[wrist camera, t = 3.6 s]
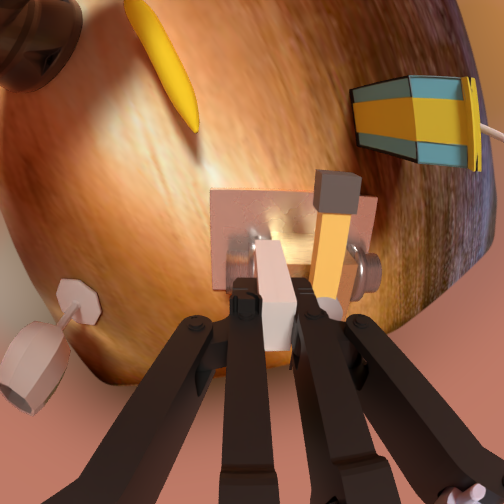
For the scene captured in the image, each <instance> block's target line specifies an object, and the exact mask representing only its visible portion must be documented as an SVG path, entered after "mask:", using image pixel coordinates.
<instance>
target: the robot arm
mask: <svg viewBox="0 0 504 504" xmlns="http://www.w3.org/2000/svg"><path fill="white" fill-rule="evenodd" d="M81 28H82V11H81V8H80V6H79V4H78V3H77V2H76V1H75V0H0V86H1V87H3V88H5V89H7V90H8V91H11V92H32V91H35V90H37V89H39V88H41V87H43V86H44V85H46V84H47V83H48V82H50V81H51V80H52V79H53V78H54V77H55V76H56V75H57V74H58V73H59V72H60V70H61V69H62V68H63V67H64V65H65V64H66V62H67V61H68V59H69V58H70V56H71V54H72V52H73V50H74V48H75V46H76V44H77V42H78V39H79V36H80V32H81ZM291 344H292V355H291V361H290V367H289V370H292V366H293V372H294V378H295V384H296V390H297V397H298V402H299V409H300V414H301V421H302V428H303V434H304V441H305V447H306V453H307V461H308V468H309V474H310V481H311V498H310V504H401V501H400V498H399V494H398V491H397V487H396V484H395V480H394V477H393V473H392V471H391V467H390V465H389V463H388V460H387V459H386V458H385V457H383V456H379V455H378V454H377V453H376V451H375V448H374V445H373V441H372V438H371V436H370V432H369V429H368V426H367V423H366V420H365V417H364V414H365V416H366V417H367V419H368V420H369V422H370V423H371V425H372V426H373V428H374V430H375V431H376V433H377V434H378V436H379V437H380V439H381V440H382V442H383V443H384V445H385V446H386V448H387V449H388V451H389V453H390V454H391V456H392V457H393V459H394V460H395V462H396V464H397V465H398V467H399V468H400V470H401V471H402V473H403V474H404V476H405V477H406V479H407V481H408V482H409V484H410V485H411V487H412V488H413V490H414V491H415V492H416V494H417V495H418V496H419V497H420V498H421V500H422V501H423V502H424V503H425V504H503V503H504V460H503V459H501V458H500V457H498V456H497V455H495V454H493V453H492V452H490V451H489V450H487V449H485V448H484V447H482V445H481V444H480V443H479V441H478V440H477V439H476V438H475V436H474V435H473V434H472V433H471V431H470V430H469V429H468V428H467V427H466V425H465V424H464V423H463V422H462V420H461V419H460V418H459V417H458V416H457V414H456V413H455V412H454V411H453V410H452V408H451V407H450V406H449V405H448V404H447V402H446V401H445V400H444V399H443V398H442V397H441V396H440V394H439V393H438V392H437V391H436V390H435V388H434V387H433V386H432V385H431V384H430V383H429V382H428V380H427V379H426V378H425V377H424V376H423V375H422V373H421V372H420V371H419V370H418V369H417V368H416V367H415V366H414V365H413V363H412V362H411V361H410V360H409V359H408V358H407V357H406V356H405V354H404V353H403V352H402V351H401V350H400V349H399V348H398V347H397V346H396V344H395V343H394V342H393V341H392V340H391V339H390V338H389V337H388V336H387V335H386V334H385V332H384V331H383V330H382V329H381V328H380V327H379V326H378V325H377V324H376V323H375V322H374V321H373V320H372V319H371V318H370V317H368V316H365V315H362V314H353V315H350V316H349V317H348V318H347V319H346V322H344V321H338V320H334V319H331V318H329V316H328V314H327V312H326V311H325V310H323V309H322V308H320V307H319V304H318V301H317V298H316V296H315V294H314V291H313V288H312V285H311V283H310V282H309V281H308V280H307V279H306V278H305V277H290V274H289V271H288V267H287V264H286V260H285V256H284V253H283V249H282V246H281V242H280V240H255V255H254V278H247V277H237V278H236V280H235V281H234V282H233V289H232V295H231V297H230V314H229V316H228V317H227V318H225V319H223V320H221V321H217V322H212V321H211V320H210V319H209V318H207V317H205V316H201V315H194V316H189V317H187V318H185V319H184V320H183V321H182V322H181V323H180V324H179V326H178V327H177V329H176V330H175V332H174V333H173V335H172V336H171V337H170V339H169V340H168V342H167V343H166V345H165V346H164V348H163V349H162V351H161V352H160V354H159V355H158V357H157V358H156V360H155V361H154V363H153V364H152V366H151V367H150V369H149V370H148V372H147V373H146V375H145V376H144V378H143V379H142V381H141V382H140V384H139V385H138V387H137V388H136V390H135V392H134V393H133V394H132V396H131V397H130V399H129V400H128V402H127V403H126V405H125V406H124V408H123V409H122V411H121V413H120V414H119V415H118V417H117V419H116V420H115V422H114V423H113V425H112V426H111V428H110V429H109V431H108V432H107V434H106V436H105V437H104V439H103V440H102V442H101V443H100V445H99V446H98V448H97V449H96V451H95V453H94V454H93V456H92V458H91V459H90V461H89V462H88V464H87V465H86V467H85V468H84V470H83V472H82V473H81V475H80V476H79V478H78V479H76V480H75V481H74V482H72V483H71V484H69V485H68V486H66V487H65V488H64V489H62V490H61V491H59V492H58V493H56V494H55V495H53V496H52V497H50V498H49V499H47V500H46V501H44V502H43V503H41V504H155V503H156V501H157V499H158V497H159V494H160V492H161V490H162V488H163V486H164V484H165V482H166V480H167V477H168V475H169V473H170V471H171V469H172V467H173V464H174V462H175V460H176V458H177V456H178V454H179V451H180V449H181V447H182V444H183V443H184V440H185V438H186V436H187V434H188V432H189V429H190V427H191V425H192V423H193V421H194V418H195V416H196V414H197V412H198V409H199V407H200V405H201V402H202V401H203V398H204V396H205V394H206V392H207V389H208V387H209V385H210V383H211V380H212V378H213V376H214V374H215V370H216V369H217V368H222V367H226V366H227V367H226V384H225V403H224V422H223V444H222V467H221V472H220V481H219V504H280V501H279V489H278V479H277V474H276V472H275V469H274V460H273V449H272V436H271V422H270V410H269V398H268V387H267V373H266V361H265V351H290V347H291Z"/></svg>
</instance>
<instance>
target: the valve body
mask: <svg viewBox="0 0 504 504" xmlns="http://www.w3.org/2000/svg"><path fill="white" fill-rule="evenodd" d="M313 197H314V191H307V190H287V189H260V188H211V189H210V220H211V257H212V283H213V289H222V290H226V294H232V289H233V282H234V281H235V280H236V278H237V277H247V278H254V255H255V240H280V242H281V246H282V249H283V253H284V256H285V260H286V264H287V267H288V271H289V274H290V277H305V278H306V279H307V280H308V281H309V274H310V267H311V260H312V252H313V244H314V236H315V228H316V219H317V210H316V209H315V207H314V206H313ZM377 201H378V197H376V196H373V195H362V194H360V196H359V203H358V210H357V214H351V220H350V226H349V233H348V239H347V245H346V250H345V256H344V261H343V267H342V272H341V277H340V282H339V287H338V292H337V298H338V300H339V303H340V305H341V307H342V310H343V316H342V320H341V321H345V318H346V314H347V310H348V306H349V302H356V301H359V300H360V299H361V298H362V296H363V294H364V293H374V292H376V291H377V290H378V288H379V286H380V283H381V276H382V269H381V263H380V259H379V257H378V256H377V254H375V253H368V251H369V246H370V241H371V235H372V230H373V225H374V219H375V213H376V207H377Z"/></svg>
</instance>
